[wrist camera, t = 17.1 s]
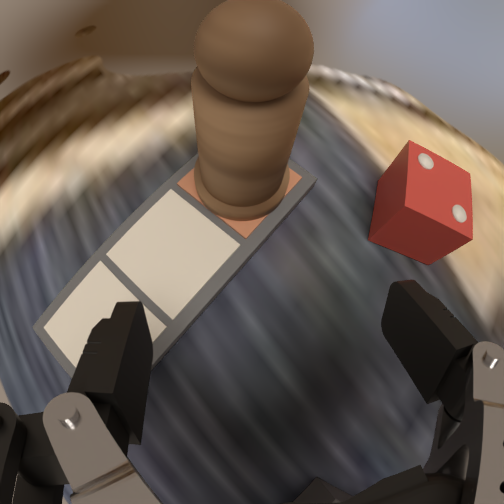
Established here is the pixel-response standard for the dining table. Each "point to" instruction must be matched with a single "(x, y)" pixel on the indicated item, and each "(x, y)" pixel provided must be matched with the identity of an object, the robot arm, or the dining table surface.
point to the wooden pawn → (248, 104)
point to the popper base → (322, 493)
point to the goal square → (239, 226)
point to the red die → (422, 206)
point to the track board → (158, 268)
